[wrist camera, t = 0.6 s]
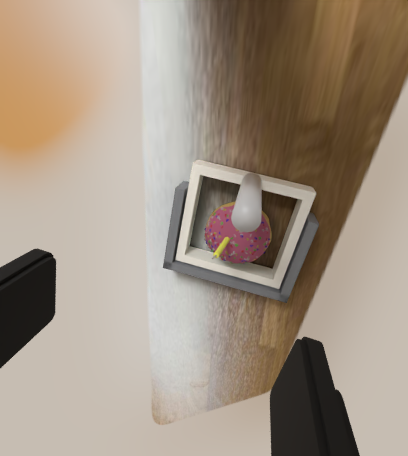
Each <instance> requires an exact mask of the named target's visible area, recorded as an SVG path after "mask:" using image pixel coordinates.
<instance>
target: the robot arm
mask: <svg viewBox="0 0 408 456" xmlns="http://www.w3.org/2000/svg"><path fill="white" fill-rule="evenodd" d="M55 291H56V260H55V259H54V258H53V255H52V254H51V253H49V252H46V251H43V250H40V249H33V250H31V251H30V252H28V253H26V254H24V255H22V256H20V257H19V258H17V259H15V260H13V261H11V262H10V263H8V264H6V265H4V266H2V267H0V368H1V367H2V366H3V365H4V364H6V362H8V361H9V360H10V359H11V358H12V357H13V356H14V355H15V354H16V353H17V352H18V351H19V350H21V349H22V348H23V347H24V346H25V345H26V344H27V343H28V342H29V341H30V340H31V339H32V338H33V337H34V336H35V335H37V334H38V333H39V332H40V331H41V330H42V329H43V328H44V327H45V326H46V325H47V324H48V323H49V322H50V321H51V320H52V319H53V317H54V315H55V293H56V292H55ZM270 420H271V456H360V455H359V452H358V448H357V445H356V442H355V438H354V435H353V431H352V428H351V425H350V422H349V418H348V414H347V411H346V408H345V404H344V401H343V398H342V395H341V393H340V392H339V391H338V390H335V387H334V384H333V380H332V376H331V373H330V369H329V365H328V362H327V358H326V354H325V351H324V347H323V344H322V343H321V342H320V341H317V340H314V339H311V338H307V337H303V338H302V340H300V339H297V340H296V341H295V343H294V345H293V347H292V349H291V351H290V353H289V355H288V357H287V359H286V361H285V363H284V365H283V367H282V369H281V371H280V373H279V375H278V377H277V379H276V381H275V383H274V385H273V387H272V390H271V394H270Z"/></svg>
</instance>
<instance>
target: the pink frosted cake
mask: <svg viewBox="0 0 408 456" xmlns="http://www.w3.org/2000/svg"><path fill="white" fill-rule="evenodd" d="M235 202H236V201H235ZM235 202H231V203H227V204H225V205H222V206H220V207H218V208H217V209H216V210H215V211H214V212H213V213H212V214H211V216H210V217H209V219H208V221H207V224H206V228H205V238H204V240H205V241H206V244H208V248H210V249H211V250H212V251H213V252H214V254H213V258H212V259H214V258H218V257H220V258H221V260H224V261H227V262H230V263H231V264H233V263H237V264H238V263H239V264H245V263H248V262H252V261H255V260H257V259H258V258H259V257H260V256H261V255H262V254H263V253H265V251H266V249H267V248H268V246H269V244H270V242H271V237H272V234H271V228H270V223H269V218H268V217H267V215H266V214H265V213H264V212H263V211H262V212H261V223H260V225H259V227H258V228H257V229H256V230H254V231H252V232H241V231H239V230H237V229H236V228H235V227H234V225H233V224H232V220H231V216H232V212H233V209H234V206H235Z"/></svg>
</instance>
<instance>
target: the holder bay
mask: <svg viewBox="0 0 408 456" xmlns="http://www.w3.org/2000/svg"><path fill="white" fill-rule="evenodd" d="M188 186H189V182H186V181H183V182H182V183H181V184H180V185H179V186H177V187H176V188H175V194H174V201H173V207H172V214H171V220H170V226H169V233H168V239H167V246H166V252H165V258H164V265H163V268H166V269H169V270H173V271H176V272H180V273H183V274H187V275H190V276H194V277H197V278H201V279H204V280H208V281H211V282H215V283H218V284H222V285H225V286H229V287H232V288H236V289H239V290H243V291H246V292H250V293H253V294H257V295H260V296H264V297H268V298H271V299H275V300H278V301H282V302H285V303H287V301H288V298H289V296H290V293H291V291H292V289H293V286H294V284H295V281H296V279H297V277H298V274H299V272H300V269H301V267H302V265H303V262H304V260H305V257H306V255H307V252H308V250H309V248H310V245H311V243H312V240H313V238H314V236H315V233H316V231H317V228H318V226H319V223H318V221H317V219H316V217H315V215H314V213H310V212H309V214H308V216H307V219H306V221H305V224H304V226H303V229H302V231H301V234H300V237H299V239H298V242H297V244H296V247H295V249H294V252H293V255H292V257H291V260H290V262H289V265H288V267H287V270H286V272H285V275H284V278H283V280H282V283H281V285H280V288H279V289H277V288H274V287H270V286H266V285H263V284H259V283H256V282H252V281H249V280H245V279H242V278H238V277H234V276H231V275H227V274H224V273H220V272H217V271H213V270H209V269H206V268H202V267H199V266H195V265H192V264H188V263H185V262H181V261H177V260H175V259H176V254H177V248H178V242H179V237H180V231H181V225H182V220H183V214H184V208H185V203H186V197H187V191H188Z"/></svg>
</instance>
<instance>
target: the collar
mask: <svg viewBox="0 0 408 456" xmlns="http://www.w3.org/2000/svg"><path fill="white" fill-rule="evenodd" d="M203 176H207V177H211V178H215V179H219V180H223V181H227V182H232V183H236V184H240V185H241V186H240V189H239V192H238V196H237V199H236V202H235V206H234V209H233V212H232V216H231V220H232V224H233V225H234V227H235V228H236V229H237V230H239V231H241V232H252V231H254V230H256V229H257V228H258V227H259V225H260V223H261V212H262V190H264V191H268V192H272V193H276V194H280V195H284V196H289V197H293V198H297V199H298V200H297V202H296V205H295V208H294V211H293V214H292V216H291V219H290V222H289V225H288V227H287V230H286V233H285V236H284V238H283V241H282V244H281V247H280V249H279V252H278V255H277V258H276V260H275V263H274V266H273V269H272V268H268V267H264V266H261V265H257V264H253V263H250V262H248V263H245V264H239V263H238V264H237V263H233V264H231V263H230V262H227V261H224V260H221V258H220V257H218V258H214V259H212V258H213V254H214V253H213V252H210V251H206V250H202V249H199V248H195V247H191V246H190V241H191V236H192V231H193V226H194V221H195V216H196V211H197V206H198V201H199V196H200V191H201V186H202V181H203ZM315 196H316V192H315V190H314V189H313V187H311V186H306V185H302V184H298V183H294V182H290V181H286V180H281V179H277V178H273V177H269V176H265V175H261V174H256V173H252V172H248V171H244V170H240V169H236V168H231V167H227V166H223V165H219V164H215V163H211V162H206V161H202V160H196V161H195V162H193V163H192V169H191V174H190V180H189V186H188V191H187V197H186V203H185V208H184V214H183V220H182V225H181V231H180V237H179V242H178V248H177V254H176V259H175V260H177V261H181V262H185V263H188V264H192V265H195V266H199V267H202V268H206V269H209V270H213V271H217V272H220V273H224V274H227V275H231V276H234V277H238V278H242V279H245V280H249V281H252V282H256V283H259V284H263V285H266V286H270V287H274V288H277V289H279V288H280V285H281V283H282V280H283V278H284V275H285V272H286V270H287V267H288V265H289V262H290V260H291V257H292V255H293V252H294V249H295V247H296V244H297V242H298V239H299V237H300V234H301V231H302V229H303V226H304V224H305V221H306V219H307V216H308V214H309V211H310V208H311V206H312V203H313V201H314V198H315Z"/></svg>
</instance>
